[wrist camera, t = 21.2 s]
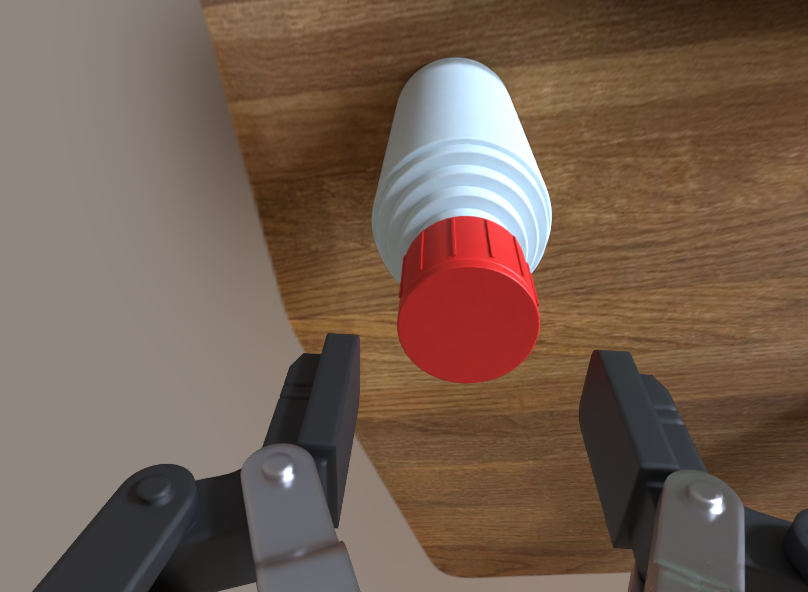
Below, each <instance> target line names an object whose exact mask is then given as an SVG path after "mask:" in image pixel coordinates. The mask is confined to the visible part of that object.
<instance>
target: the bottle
mask: <svg viewBox="0 0 808 592" xmlns="http://www.w3.org/2000/svg"><path fill="white" fill-rule="evenodd" d="M456 216H476V217H481V218H485V219H489V220H491V221H493V222H495V223H497V224H499V225H501V226H503V227H504V228H505V229H507V230H508V231H509V232H510V233H511V234H512V235H513V236H515V237H516V239H517V241H518V243H519V244H520V246H521V248H522V250H523V253H524V256H525V260H526V263H528V264H529V268H530V272H531V273H532V272H533V271H534V269H535V268H536V266H537V265H538V263H539V261H540V259H541V257H542V255H543V252H544V250H545V247H546V243H547V241H548V238H549V234H550V230H551V220H552V215H551V204H550V199H549V195H548V192H547V189H546V186H545V184H544V181H543V179H542V176H541V174H540V171H539V169H538V166H537V164H536V161H535V159H534V156H533V154H532V151H531V149H530V146H529V144H528V141H527V139H526V136H525V134H524V131H523V129H522V126H521V124H520V121H519V119H518V116H517V114H516V111H515V109H514V106H513V104H512V101H511V99H510V96H509V94H508V91H507V89H506V87H505V85H504V84H503V82H502V81H501V79H500V78H499V77H498V76H497V75H496V74H495V73H494V72H493V71H492V70H491V69H489V68H488V67H486V66H485V65H483V64H481V63H479V62H477V61H474V60H471V59H467V58H460V57H450V58H444V59H440V60H437V61H434V62H432V63H429V64H427V65H426V66H424V67H422V68H421V69H420V70H418V71H417V72H416V73H415V74H414V75H413V76H412V77H411V78H410V79H409V80H408V82H407V83H406V84H405V86H404V88H403V90H402V91H401V93H400V96H399V99H398V102H397V106H396V111H395V115H394V119H393V123H392V128H391V132H390V136H389V141H388V145H387V149H386V153H385V158H384V162H383V166H382V170H381V175H380V179H379V183H378V188H377V192H376V196H375V200H374V205H373V209H372V231H373V236H374V241H375V244H376V247H377V249H378V252H379V254H380V255H381V258H382V260H383V262H384V264H385V266H386V267H387V269H388V270H389V272H390V273H391V275H392V276H393V277H394V278H395V279H396V280H397V281H398V282H399V283H400V282H401V273H402V263H403V256H404V255H406V253H407V250H408V248H409V247H410V245H411V243H412V242H413V240H414V239H415V238H416V237H417V236H418V235H419V234H420V233H421V231H423V230H425V229H426V228H427V227H429V226H430V225H432V224H434V223H436V222H438V221H441V220H443V219H447V218H451V217H456Z"/></svg>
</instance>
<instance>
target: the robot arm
mask: <svg viewBox="0 0 808 592" xmlns="http://www.w3.org/2000/svg"><path fill="white" fill-rule="evenodd" d="M359 394H360V338H359V335H352V334H335V333H328V334H327V336H326V340H325V343H324V347H323V350H322V354H309V353H303V354H302V355H301V356H300V357H299V358H298V359H297V360H296V361H295V362H294V363H293V364H292V365H291V366H290V367H289V370H288V373H287V376H286V379H285V383H284V386H283V388H282V391H281V394H280V399H279V400H278V403H277V406H276V409H275V412H274V414H273V417H272V420H271V423H270V426H269V429H268V432H267V435H266V438H265V441H264V444H263V447H262V448H261V449H259V450H257V451H256V452H254V453H253V454H252V455H251V456H250V457H249V458H248V459H247V460H246V461H245V463H244V464H243V467H242V468H241V469H239V470H237V471H235V472H232V473H230V474H225V475H222V476H216V477H211V478H206V479H201V480H196V481H195V479H194V476H193V475H192V473H191V472H190V471H188V470H187V469H186V468H184V467H182V466H179V465H174V464H159V465H154V466H150V467H147V468H144V469H142V470H140V471H138V472H136V473H135V474H133V475H132V476H130V477H129V478H128V479H127V480H126V481H125V482H124V483H123V484H122V485H121V486H120V487H119V488H118V490H117V491H116V492H115V493H114V494H113V496H112V497H111V498H110V499H109V500H108V502H107V503H106V504H105V505H104V506H103V508H102V509H101V510H100V511H99V512H98V514H97V515H96V516H95V517H94V518H93V520H92V521H91V522H90V523H89V524H88V526H87V527H86V528H85V529H84V530H83V532H82V533H81V534H80V535H79V536H78V537H77V539H76V540H75V541H74V542H73V544H72V545H71V546H70V547H69V548H68V549H67V551H66V552H65V553H64V554H63V555H62V557H61V558H60V559H59V560H58V561H57V563H56V564H55V565H54V566H53V568H52V569H51V570H50V571H49V572H48V573H47V575H46V576H45V577H44V578H43V580H42V581H41V582H40V583H39V584H38V585H37V587H36V588H35V589H34V590H33V591H32V592H217V591H221V590H225V589H230V588H234V587H238V586H242V585H246V584H250V583H254V582H256V585H257V591H258V592H360V589H359V586H358V583H357V579H356V576H355V573H354V570H353V567H352V563H351V560H350V557H349V554H348V551H347V548H346V546H345V544H344V542H343V541H340V542H339V541H338V539H337V535H336V532H335V529H334V528H338V526H339V520H340V515H341V514H340V513H341V508H342V503H343V497H344V491H345V485H346V479H347V473H348V467H349V461H350V455H351V449H352V444H353V438H354V432H355V426H356V420H357V414H358V406H359ZM579 422H580V428H581V432H582V435H583V439H584V443H585V446H586V450H587V454H588V457H589V461H590V465H591V468H592V472H593V475H594V479H595V483H596V486H597V490H598V494H599V497H600V501H601V504H602V508H603V512H604V515H605V519H606V523H607V526H608V530H609V534H610V537H611V541H612V544H613V548H621V549H632V551H633V554H634V557H635V560H636V561H635V563H634V566H633V569H632V572H631V576H630V582H629V588H628V592H808V509H805V510H803V511H801V512H799V513H798V514H797V516H796V517H795V519H794V521H793V523H792V522H789V521H786V520H782V519H779V518H776V517H773V516H769V515H766V514H763V513H760V512H757V511H754V510H751V509H749V508H747V507H744V506H743V504H742V501H741V499H740V498H739V496H738V495H737V494H736V492H735V491H734V490H733V489H732V488H731V487H730V486H729V485H727V484H726V483H725V482H723V481H722V480H720V479H719V478H717V477H715V476H713V475H710V474H708V472H707V470H706V468H705V466H704V463H703V461H702V459H701V457H700V455H699V453H698V451H697V449H696V447H695V445H694V443H693V441H692V439H691V437H690V435H689V432H688V430H687V428H686V426H685V425H683V420H682V418H681V416H680V414H679V412H678V411H676V406H675V404H674V401H673V399H672V397H671V395H670V393H669V391H668V390H667V389H666V388H665V387H664V386H663V385H662V384H661V383H660V382H659V381H658V380H657V379H655V378H654V377H653V376H652V375H644V374H639V372H638V370H637V367H636V365H635V363H634V360H633V358H632V356H631V354H630V353H629V352H626V351H609V350H594V351H593V353H592V355H591V359H590V363H589V367H588V371H587V375H586V379H585V383H584V387H583V391H582V396H581V400H580V406H579Z"/></svg>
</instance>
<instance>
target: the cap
mask: <svg viewBox="0 0 808 592" xmlns="http://www.w3.org/2000/svg"><path fill="white" fill-rule="evenodd" d="M399 298H400V301H399V310H398V320H397V331H398V336H399V340H400V343H401V346H402V347H403V349H404V351H405V353H406V354H407V356H408V357H409V358H410V359H411V361H412V362H413V363H414V364H415V365H417V366H418V367H419V368H420V369H422V370H423V371H425V372H426V373H428V374H430V375H432V376H434V377H436V378H439V379H442V380H445V381H450V382H456V383H479V382H484V381H489V380H492V379H495V378H498V377H500V376H503V375H505V374H507V373H508V372H510V371H512V370H513V369H515V368H516V367H517V366H519V365H520V364H521V363H522V362H523V361H524V360H525V359H526V357H527V356H528V355H529V354H530V352H531V351H532V349H533V347H534V345H535V343H536V341H537V338H538V334H539V328H540V316H539V312H538V307H537V306H539V303H538V299H537V295H536V291H535V287H534V283H533V279H532V276H531V272H530V268H529V264H528V263H526V260H525V256H524V253H523V250H522V248H521V246H520V244H519V243H518V241H517V239H516V237H515V236H513V235H512V234H511V233H510V232H509V231H508V230H507V229H505V228H504V227H503V226H501V225H499V224H497V223H495V222H493V221H491V220H489V219H485V218H481V217H476V216H456V217H451V218H447V219H443V220H441V221H438V222H436V223H434V224H432V225H430V226H429V227H427V228H426V229H425V230H423V231H421V233H420V234H419V235H418V236H417V237H416V238H415V239H414V240H413V242H412V243H411V245H410V247H409V248H408V250H407V253H406V255H404V256H403V263H402V273H401V282H400V291H399Z"/></svg>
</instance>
